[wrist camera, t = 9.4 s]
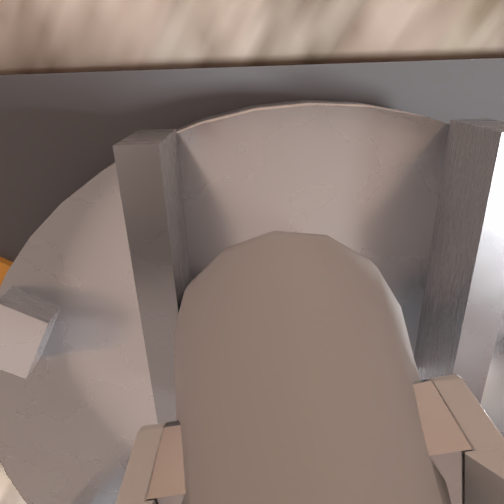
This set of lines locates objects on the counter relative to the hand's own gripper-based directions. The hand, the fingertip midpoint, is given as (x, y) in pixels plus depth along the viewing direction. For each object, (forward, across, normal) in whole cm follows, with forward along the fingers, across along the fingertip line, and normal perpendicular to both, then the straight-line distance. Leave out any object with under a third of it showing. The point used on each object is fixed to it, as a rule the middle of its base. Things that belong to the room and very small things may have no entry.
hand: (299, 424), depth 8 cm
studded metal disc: (+8, 0, +7) cm, 10 cm away
